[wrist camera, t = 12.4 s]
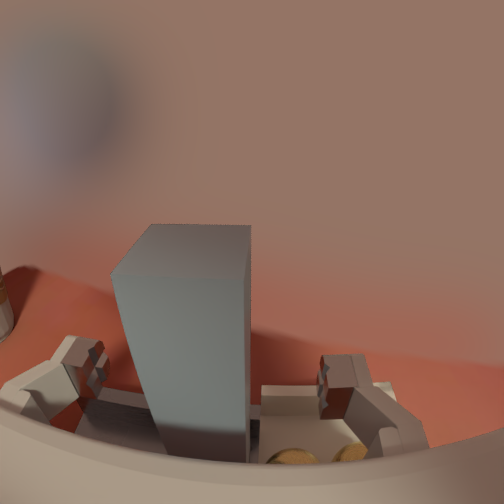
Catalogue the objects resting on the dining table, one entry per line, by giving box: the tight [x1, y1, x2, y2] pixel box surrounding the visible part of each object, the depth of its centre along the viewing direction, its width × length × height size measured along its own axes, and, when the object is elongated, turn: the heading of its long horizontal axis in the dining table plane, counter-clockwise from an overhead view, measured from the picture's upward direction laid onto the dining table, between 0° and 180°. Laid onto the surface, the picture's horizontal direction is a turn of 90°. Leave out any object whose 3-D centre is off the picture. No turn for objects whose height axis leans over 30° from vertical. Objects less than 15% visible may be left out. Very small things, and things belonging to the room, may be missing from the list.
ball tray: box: [258, 382, 397, 464], centre depth 14 cm, size 8×10×2 cm
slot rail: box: [74, 387, 261, 464], centre depth 14 cm, size 11×7×3 cm, turn 87°
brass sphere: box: [265, 448, 320, 464], centre depth 13 cm, size 3×3×3 cm
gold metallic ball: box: [331, 441, 368, 462], centre depth 13 cm, size 3×3×3 cm
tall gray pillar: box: [110, 224, 251, 463], centre depth 11 cm, size 3×4×13 cm
